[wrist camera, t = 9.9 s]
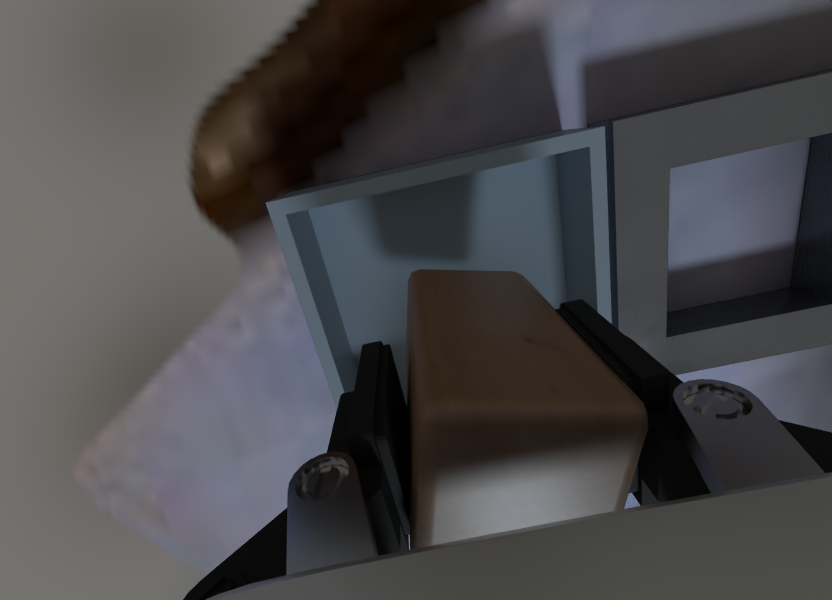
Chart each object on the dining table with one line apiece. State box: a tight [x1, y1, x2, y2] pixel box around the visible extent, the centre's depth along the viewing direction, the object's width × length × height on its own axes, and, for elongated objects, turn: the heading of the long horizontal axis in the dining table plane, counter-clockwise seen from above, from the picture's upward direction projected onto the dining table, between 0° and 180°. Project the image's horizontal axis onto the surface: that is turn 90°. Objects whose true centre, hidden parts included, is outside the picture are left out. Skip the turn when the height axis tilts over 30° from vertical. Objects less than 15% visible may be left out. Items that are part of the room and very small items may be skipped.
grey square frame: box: [588, 69, 832, 375], centre depth 16 cm, size 11×11×2 cm
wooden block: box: [405, 269, 649, 549], centre depth 11 cm, size 4×4×8 cm
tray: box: [266, 126, 612, 408], centre depth 16 cm, size 11×11×4 cm
